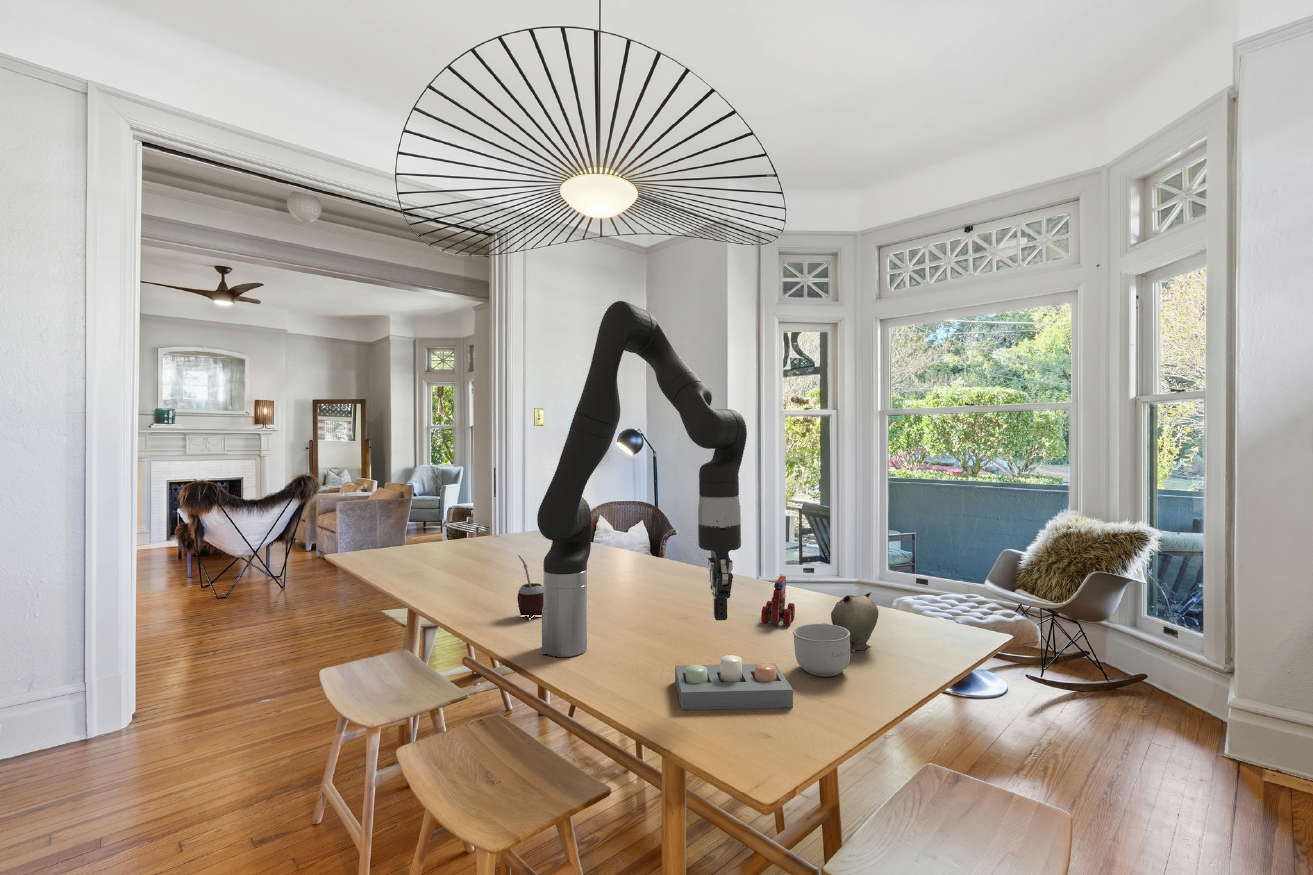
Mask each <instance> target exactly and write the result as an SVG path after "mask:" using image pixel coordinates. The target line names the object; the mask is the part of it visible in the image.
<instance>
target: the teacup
mask: <svg viewBox="0 0 1313 875" xmlns="http://www.w3.org/2000/svg"><path fill="white" fill-rule="evenodd" d="M792 634H793V645H794V654H795V659H796V662H797V664H798V665H799V666H800V668H802V669H803V670H805V672H807V673H808V674H809V675H813V676H816V677H824V678H825V677H834V676H837V675H840V674H841V673H842V671H844V670H846V669H847V667H848V666H849V664H850V660H851V652H850V632H849V630H847V629H846V628H844V627H841V626H837V625H833V624H830V623H829V622H828V621H822V622H821V623H807V624H803V625H799V626H797V627H795V628H793V630H792Z"/></svg>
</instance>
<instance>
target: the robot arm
mask: <svg viewBox="0 0 1313 875" xmlns="http://www.w3.org/2000/svg"><path fill="white" fill-rule="evenodd" d="M595 341H596V342H595V344H594V345H595V346H594V349H593V354H592V358H591V361H590V366H589V370H588V373H587V377H586V379H585V382H584V387H583V389H582V392H581V396H580V399H579V401H578V404H577V406H576V409H575V412H574V414H573V417H572V420H571V423H570V425H569V426H570V427H569V430H568V434H567V436H566V439H565V443H564V446H563V447H562V452H561V455H560V458H559V461H558V463H557V467H556V469H555V472H554V475H553V477H552V479H551V481H550V483H549V486H548V488H547V489H546V493H545V494H544V497H542V498H543V499H542V501H541V503H540V506H539V508H538V511H537V516H536V517H537V519H536V521H537V526H538V530H539V533H541V535H542V536H543V537H544V538H545V539H547V540H549V541H552V542H551V546H550V549H549V550H548V551H547V553H546V554H545V556H544V558H543V587H544V607H543V609H542V618H541V655H542V654H549V655H548V656H550V655H551V657H555V656H557V658H566V657H567V658H568V657H575V656H578V655H581V654H583V653H585V652H586V651H587V650H586V649H588V561H589V557H590V555H591V548H592V546H591V545H592V526H593V525H592V522H593V519H592V511H591V508H590V505H589V503H588V502H587V500H586V499H585V498H584V497H582V496H583V494H584V492H585V488H586V486H587V483H588V482H589V479H590V478H591V476H592V474H593V473H594V472H595V470H596V468H597V467H598V466H599V464H600V463H601V461H602V460H603V459H604V458H605V456H606V454H607V452H608V451H609V449H610V447H611V444H612V442H613V439H614V437H615V435H616V431H617V429H618V425H619V422H620V420H621V419H620V418H621V401H620V393H619V388H618V372H619V367H620V364H621V361H622V358H623V357H622V356H623V353H624V352H628V353H632V354H635V355H637V356H638V357H640V358H641V359H642V360H644V361H645V362H646V363H647V364H649V366H650V367H651V368H652V369H653V371H654V373H655V378H656V382H657V385H658V387H659V389H660V391H661V392H662V394H663V395H664V396H665V398H666V399H667V400H668V402H670V403H671V404H670V405H672V406H673V407H674V408H675V411H678V414H679V416H680V419H681V422H682V423H683V426H684V429H685V431H686V433H687V435H688V437H689V439H691V441H692V442H693V443H695V444H696V445H697V446H698V447H700V448H703V449H706V450H711V449H712V450H713V449H714V451H713V455H712V458H711V460H710V461H708V462H706V463H703V464H702V465H701V466H700V467H699V472H698V481H699V482H698V483H699V486H698V488H699V490H698V491H699V492H698V505H697V526H698V527H697V531H698V534H697V535H698V536H697V537H698V547H699V548H700V549H701V550H704V551H710V557H707V567H708V571H709V572H708V580H709V583H710V590H711V596H712V597H713V618H714V619H715V620H716V621H726V620H728V600H729V599H730V598H731V593H732V584H733V579H734V575H733V573H732V571H733V566H734V565H733V560H732V559H731V558H730V555H729V553H730V551H736V550H739V549H741V547H742V537H741V536H742V535H741V534H742V530H741V529H742V528H741V527H742V525H741V521H742V519H741V518H742V516H741V512H742V511H741V504H740V496H739V495H740V486H739V485H740V484H739V483H740V482H739V480H740V479H739V472H740V468H741V464H742V462H743V461H742V460H743V456H744V452H745V448H746V444H747V439H748V438H747V437H748V431H747V424H746V422H745V419H744V417H743V415H742V414H741V413H740V412H739V411H737V410H735V409H728V408H727V409H726V408H725V409H724V408H713V407H711V404H712V401H713V395H712V392H711V391H710V389H709V387H707V385H706V384H705V383H704V382H703V381H702V379H701V378H700V377H699V376H698V375H697V373H695V372H694V371H693V370H692V369H691V368H690V367H689V365H688V364H687V363H686V362H685V361H684V359H683V358H682V357H681V356H680V354H679V352H677V351H676V349H675V348H674V346H673V344H672V343H671V341H670V339H669V338H668V336H667V334H666V333H665V331H664V329H663V328H662V326H661V324H660V323H659V321H658V320H657V319H656V317H655V316H654V314H652V313H651V312H649V311H648V310H645V309H643V308H641V307H639V306H636V305H635V304H632V303H629V302H627V301H624V300H617V301H615V302H613V303H611V304H610V305H609V306H608V307H607V309H606V311H604V314H603V316H602V319H601V321H600V325H599V328H598V333H597V337H596V340H595Z"/></svg>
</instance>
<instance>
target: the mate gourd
mask: <svg viewBox="0 0 1313 875" xmlns="http://www.w3.org/2000/svg"><path fill="white" fill-rule="evenodd" d="M518 558H519V559H520V561H521V562H522V564H523V568H524V571H525V576H526V579H527V583H525V584H522V585H521V586H520V587H519V589H518V592H517V604H518V610H519V613H520V614H519V615H529V618H531V617H532V616H533V615H542V609H543V607H544V585H542V584H541V583H537V582H534V583H532V582H531V580H530V576H529V571H528V564H527V563H526V561H525V560H524V559H523V557H522V556H521V555H520V554H518Z"/></svg>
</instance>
